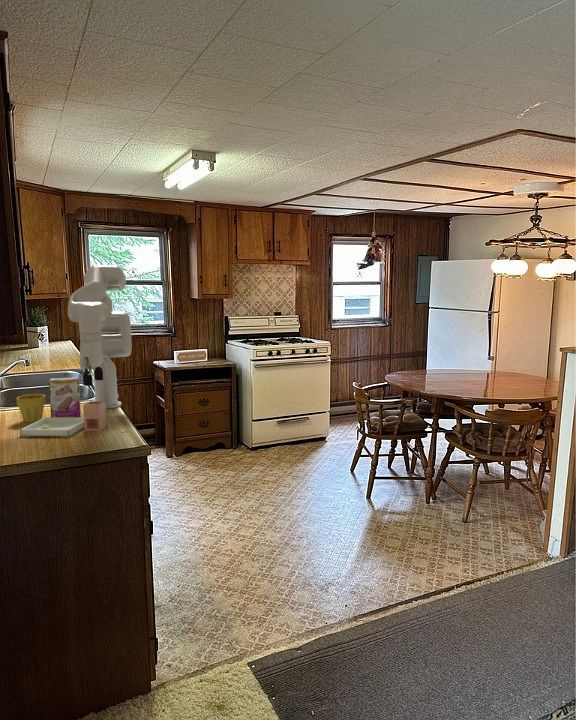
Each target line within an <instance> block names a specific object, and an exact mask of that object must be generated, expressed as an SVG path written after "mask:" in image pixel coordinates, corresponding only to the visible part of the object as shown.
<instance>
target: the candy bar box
mask: <svg viewBox="0 0 576 720" xmlns="http://www.w3.org/2000/svg"><path fill="white" fill-rule="evenodd" d="M48 385H49V387H48V388H49V407H50V417H65V418H81V417H80V416H82V409H81V407H82V406H81V387H80V377H57V378H56V377H55V378H49V380H48Z"/></svg>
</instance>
